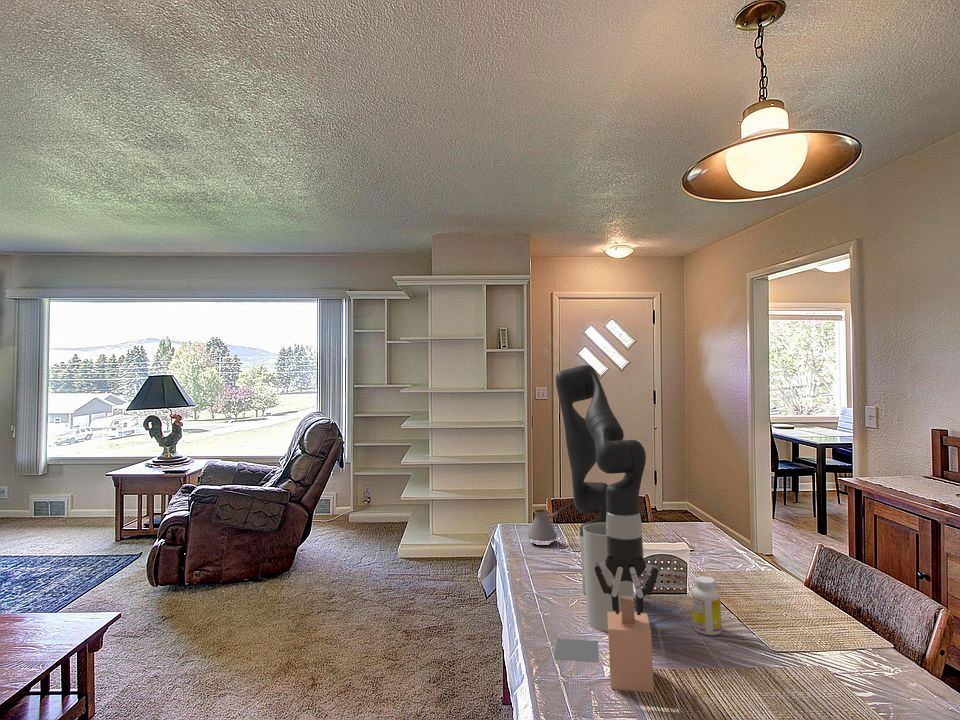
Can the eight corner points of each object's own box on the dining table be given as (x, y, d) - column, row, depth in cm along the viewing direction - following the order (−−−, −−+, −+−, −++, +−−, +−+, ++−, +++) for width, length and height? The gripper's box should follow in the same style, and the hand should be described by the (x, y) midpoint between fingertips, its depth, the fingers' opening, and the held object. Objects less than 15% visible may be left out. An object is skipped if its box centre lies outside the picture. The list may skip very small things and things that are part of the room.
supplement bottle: (720, 626, 137) (718, 575, 138) (723, 638, 131) (720, 585, 132) (693, 623, 140) (690, 573, 140) (694, 634, 133) (691, 583, 134)
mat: (597, 643, 131) (597, 641, 131) (598, 664, 121) (598, 662, 121) (556, 640, 133) (556, 638, 133) (554, 661, 123) (554, 659, 123)
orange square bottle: (649, 672, 117) (645, 591, 118) (654, 695, 109) (649, 608, 109) (609, 669, 119) (606, 589, 120) (611, 691, 110) (607, 605, 111)
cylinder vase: (608, 639, 133) (604, 538, 134) (577, 620, 144) (573, 527, 145) (645, 627, 138) (640, 530, 139) (612, 609, 149) (608, 520, 151)
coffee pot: (535, 549, 205) (533, 510, 206) (523, 541, 216) (522, 504, 217) (584, 542, 212) (582, 504, 213) (570, 534, 223) (569, 498, 224)
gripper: (656, 528, 117) (660, 607, 117) (590, 527, 120) (594, 604, 119) (660, 538, 110) (664, 623, 109) (590, 536, 113) (594, 619, 112)
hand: (627, 612), depth 114 cm, fingers open, 4 cm apart
